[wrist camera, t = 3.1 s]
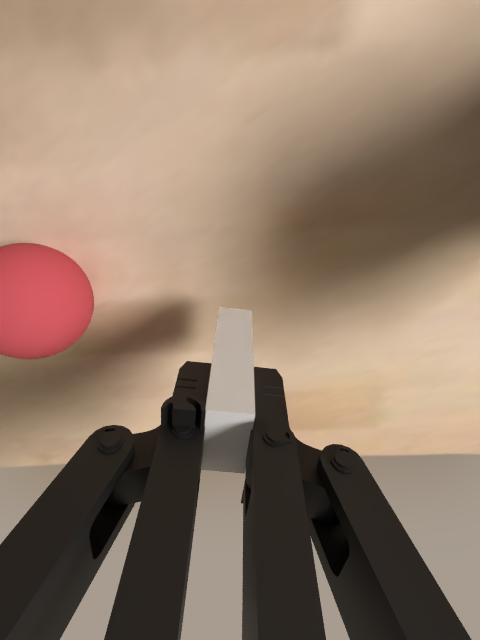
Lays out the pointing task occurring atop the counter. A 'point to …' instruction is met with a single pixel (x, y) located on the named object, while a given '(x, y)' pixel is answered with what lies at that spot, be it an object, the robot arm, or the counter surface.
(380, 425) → the counter surface
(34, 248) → the ball
